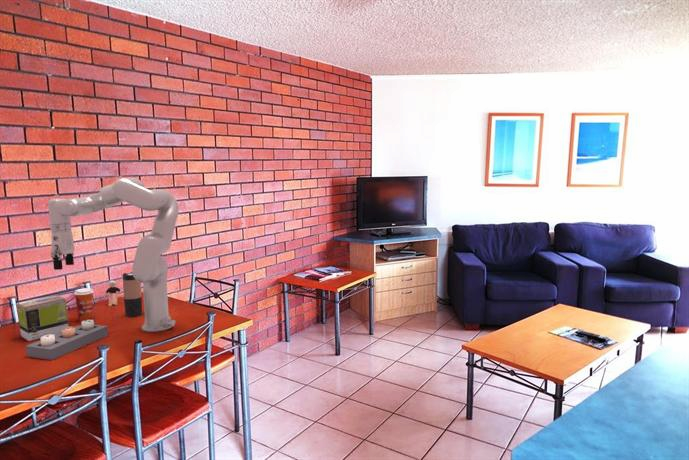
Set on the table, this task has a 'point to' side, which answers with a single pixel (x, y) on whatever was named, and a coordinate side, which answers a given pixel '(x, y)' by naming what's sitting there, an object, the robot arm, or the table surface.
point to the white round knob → (47, 340)
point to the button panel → (66, 343)
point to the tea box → (42, 317)
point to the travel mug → (132, 295)
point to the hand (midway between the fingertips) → (64, 267)
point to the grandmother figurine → (112, 293)
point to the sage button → (87, 325)
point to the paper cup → (84, 303)
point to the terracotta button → (68, 332)
